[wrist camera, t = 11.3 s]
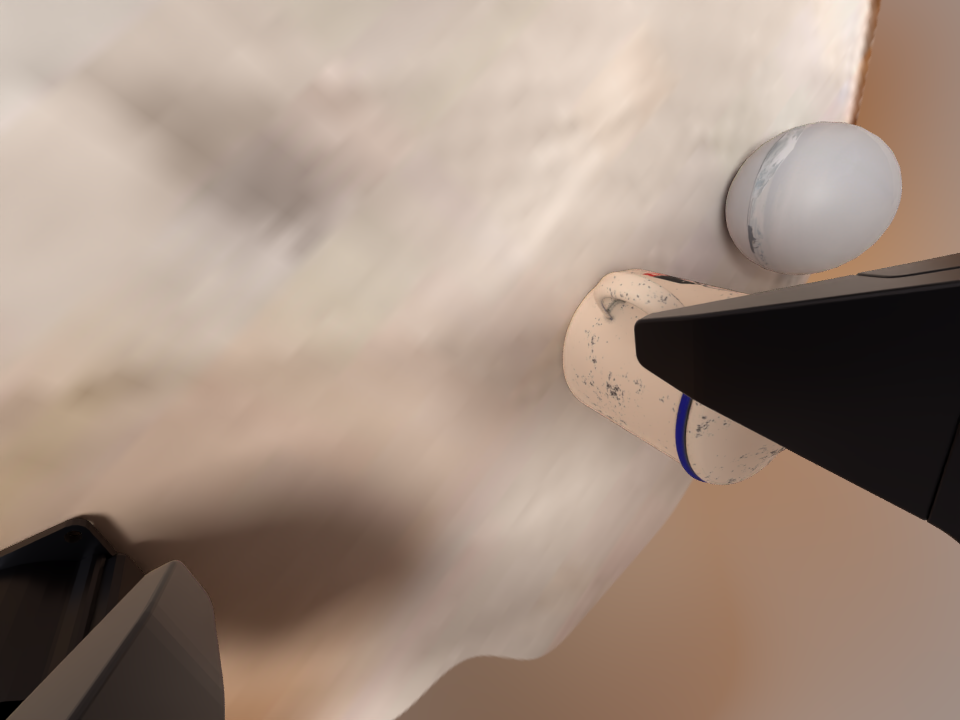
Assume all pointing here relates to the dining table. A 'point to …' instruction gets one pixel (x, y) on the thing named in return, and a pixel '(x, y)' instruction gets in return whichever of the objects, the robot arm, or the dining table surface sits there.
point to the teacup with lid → (654, 378)
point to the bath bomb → (813, 198)
